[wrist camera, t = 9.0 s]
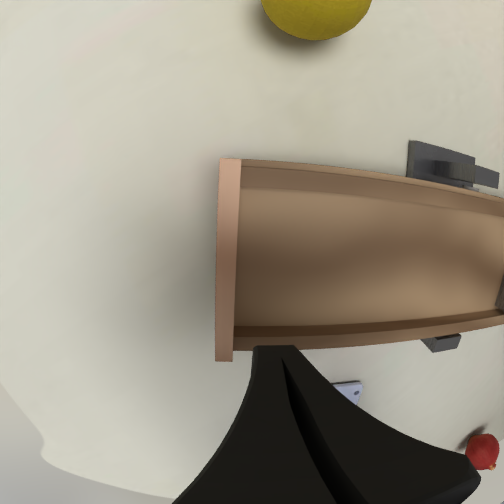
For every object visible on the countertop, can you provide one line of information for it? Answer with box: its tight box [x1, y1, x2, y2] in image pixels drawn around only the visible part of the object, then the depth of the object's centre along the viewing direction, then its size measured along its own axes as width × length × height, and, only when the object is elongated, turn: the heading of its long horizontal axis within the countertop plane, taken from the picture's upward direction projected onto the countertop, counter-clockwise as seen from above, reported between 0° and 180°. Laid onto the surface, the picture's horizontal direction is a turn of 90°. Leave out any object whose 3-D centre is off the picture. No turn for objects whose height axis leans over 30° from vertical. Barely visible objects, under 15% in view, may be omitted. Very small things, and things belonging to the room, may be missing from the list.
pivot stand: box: [406, 141, 499, 353], centre depth 17 cm, size 14×6×5 cm, turn 177°
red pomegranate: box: [465, 434, 499, 470], centre depth 27 cm, size 6×6×8 cm
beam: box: [215, 158, 504, 362], centre depth 15 cm, size 9×26×3 cm, turn 87°
